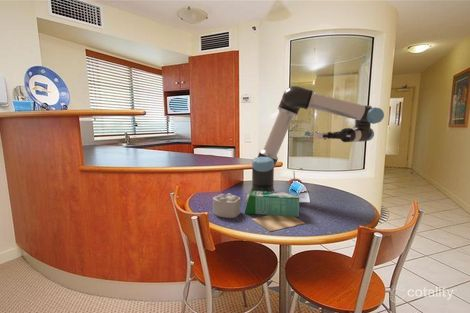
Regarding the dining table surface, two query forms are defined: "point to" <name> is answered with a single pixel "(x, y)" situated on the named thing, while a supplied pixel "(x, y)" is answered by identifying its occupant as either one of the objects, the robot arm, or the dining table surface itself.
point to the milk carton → (272, 203)
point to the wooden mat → (277, 222)
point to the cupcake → (294, 180)
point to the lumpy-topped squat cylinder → (227, 205)
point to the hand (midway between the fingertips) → (316, 136)
